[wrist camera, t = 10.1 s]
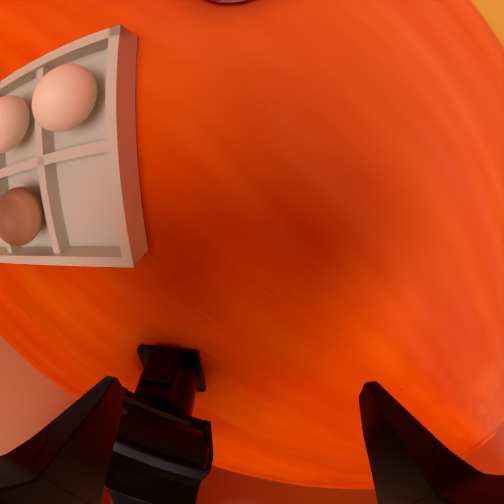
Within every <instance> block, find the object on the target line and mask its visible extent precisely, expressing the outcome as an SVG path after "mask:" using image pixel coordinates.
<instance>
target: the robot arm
mask: <svg viewBox="0 0 504 504" xmlns="http://www.w3.org/2000/svg"><path fill="white" fill-rule="evenodd" d="M137 352H138V355H139V357H140V360H141V363H142V365H143V371H142V373H141V376H140V380H139V382H138V385H137V388H136V390H135V393H133V392H130V391H128V390H127V389H126V388H124V387H122V386H121V384H120V382H119V380H118V379H117V378H116V377H112V376H106V377H105V378H103V379H102V380H101V381H100V382H99V383H97V384H96V385H95V386H94V387H93V388H91V389H90V390H89V391H88V392H87V393H85V394H84V395H83V396H82V397H81V398H79V399H78V400H77V401H76V402H75V403H73V404H72V405H71V406H70V407H69V408H67V409H66V410H65V411H64V412H63V413H62V414H60V415H59V416H58V417H57V418H55V419H54V420H53V421H52V422H51V423H49V424H48V425H47V426H46V427H44V428H43V429H42V430H41V431H40V432H38V433H37V434H36V435H34V436H33V437H32V438H30V439H29V440H27V441H26V442H25V443H23V444H21V445H20V446H18V447H17V448H15V449H13V450H12V451H10V452H9V453H7V454H5V455H2V456H0V504H101V500H102V494H103V490H104V485H106V488H107V489H108V491H109V493H110V496H111V498H112V500H111V504H195V503H196V498H197V494H198V490H199V486H200V483H201V481H202V480H204V479H205V478H206V477H207V475H208V473H209V471H210V468H211V466H212V461H213V445H212V432H211V422H210V421H207V420H201V419H198V418H195V417H192V410H193V405H194V399H195V394H196V391H197V392H204V391H205V390H206V384H205V379H204V374H203V369H202V364H201V359H200V354H199V352H198V351H196V350H190V349H176V348H164V347H154V346H144V345H139V346H138V348H137ZM193 354H194V355H193ZM359 405H360V413H361V421H362V430H363V436H364V441H365V445H366V449H367V453H368V458H369V462H370V467H371V471H372V476H373V481H374V486H375V491H376V496H377V502H378V504H504V475H490V474H485V473H482V472H480V471H478V470H477V469H475V468H474V467H472V466H471V465H469V464H468V463H466V462H465V461H464V460H462V459H461V458H459V457H458V456H457V455H455V454H454V453H453V452H452V451H450V450H449V449H448V448H447V447H446V446H445V445H443V444H442V443H441V442H440V441H439V440H438V439H437V438H435V436H434V435H433V434H431V433H430V432H429V431H428V430H427V429H426V428H425V427H424V426H423V425H422V424H421V423H420V422H419V421H418V420H417V419H416V418H415V417H414V416H412V415H411V414H410V413H409V412H408V411H407V410H406V409H405V408H404V407H403V406H402V405H401V404H400V403H399V402H398V401H397V400H396V399H395V398H393V397H392V396H391V395H390V394H389V393H388V392H387V391H386V390H385V389H384V388H383V387H382V386H381V385H380V384H379V383H378V382H376V381H372V382H366V383H365V384H364V386H363V388H362V391H361V393H360V395H359Z"/></svg>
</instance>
